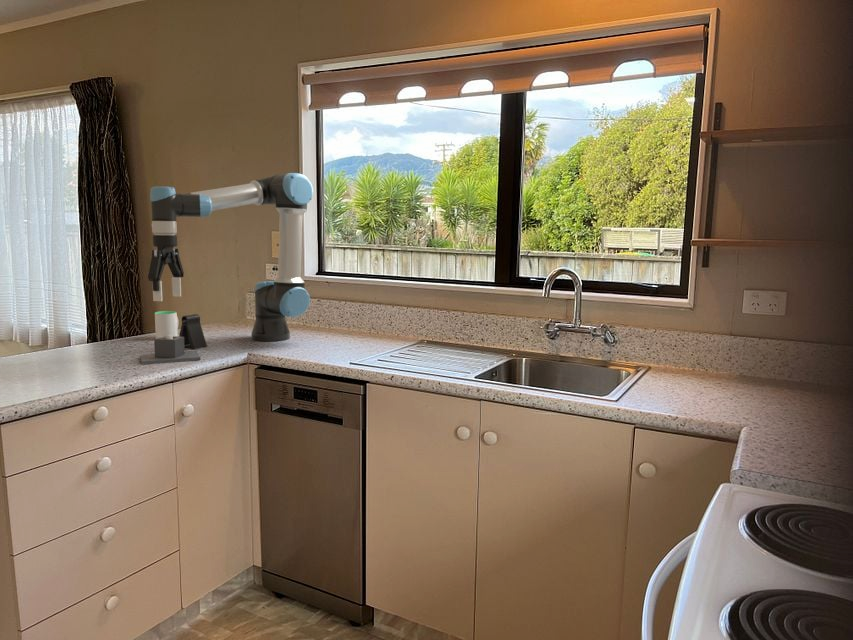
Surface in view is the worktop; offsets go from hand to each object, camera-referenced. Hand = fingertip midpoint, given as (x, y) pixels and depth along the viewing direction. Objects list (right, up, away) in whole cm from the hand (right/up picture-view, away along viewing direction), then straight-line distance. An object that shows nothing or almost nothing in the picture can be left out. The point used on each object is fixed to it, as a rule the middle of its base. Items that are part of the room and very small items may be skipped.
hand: (167, 298), depth 210 cm
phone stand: (-1, -17, +24) cm, 29 cm away
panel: (0, -20, +3) cm, 20 cm away
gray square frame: (0, -19, +3) cm, 19 cm away
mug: (-17, -14, +42) cm, 48 cm away
